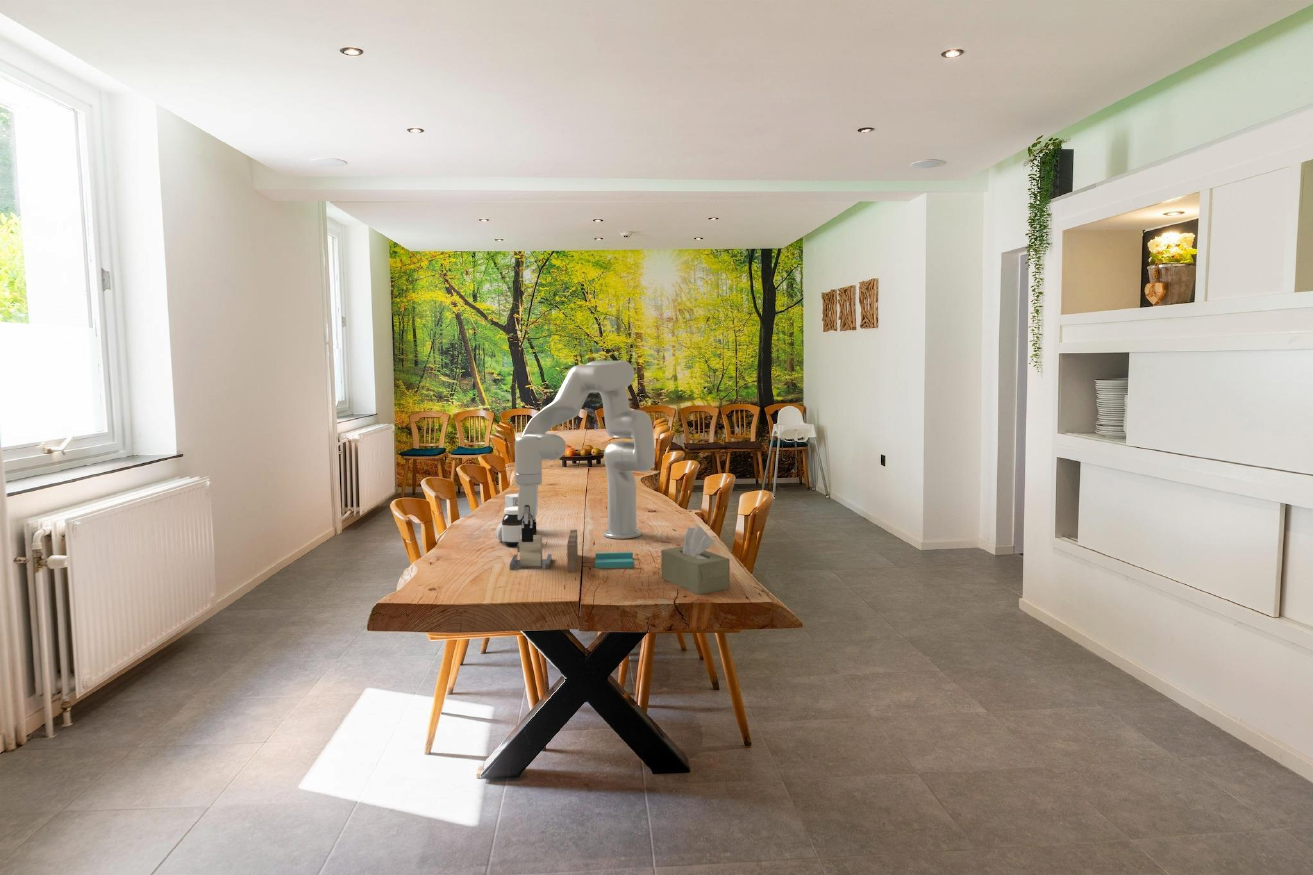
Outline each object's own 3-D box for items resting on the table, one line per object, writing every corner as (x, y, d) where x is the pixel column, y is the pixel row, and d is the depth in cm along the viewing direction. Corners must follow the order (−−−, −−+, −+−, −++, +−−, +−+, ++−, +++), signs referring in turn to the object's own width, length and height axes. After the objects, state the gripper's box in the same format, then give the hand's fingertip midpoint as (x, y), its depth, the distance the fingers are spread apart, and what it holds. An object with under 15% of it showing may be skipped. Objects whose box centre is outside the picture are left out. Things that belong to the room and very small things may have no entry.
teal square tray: (595, 568, 231) (594, 562, 231) (595, 558, 242) (595, 552, 242) (633, 567, 231) (633, 561, 231) (632, 558, 242) (632, 552, 242)
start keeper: (514, 560, 240) (514, 554, 240) (551, 559, 241) (551, 554, 241) (509, 570, 230) (509, 564, 229) (548, 569, 230) (548, 563, 230)
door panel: (571, 555, 246) (570, 529, 245) (577, 555, 246) (577, 529, 245) (567, 573, 226) (567, 545, 225) (574, 573, 226) (574, 544, 225)
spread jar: (522, 548, 257) (521, 511, 256) (488, 547, 259) (487, 510, 258) (534, 539, 269) (533, 504, 267) (501, 538, 270) (500, 504, 269)
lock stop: (519, 562, 237) (518, 535, 236) (542, 561, 238) (541, 535, 237) (517, 566, 233) (517, 538, 232) (541, 565, 233) (540, 538, 232)
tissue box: (730, 589, 209) (730, 529, 208) (699, 595, 205) (698, 533, 203) (690, 573, 226) (690, 517, 224) (660, 578, 221) (659, 521, 219)
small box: (526, 528, 285) (525, 492, 284) (535, 531, 280) (534, 494, 279) (505, 531, 281) (504, 494, 279) (514, 535, 276) (513, 497, 274)
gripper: (518, 475, 241) (519, 532, 242) (511, 483, 224) (512, 544, 225) (544, 475, 241) (544, 532, 243) (539, 483, 224) (539, 544, 226)
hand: (529, 538), depth 234 cm, fingers open, 9 cm apart
